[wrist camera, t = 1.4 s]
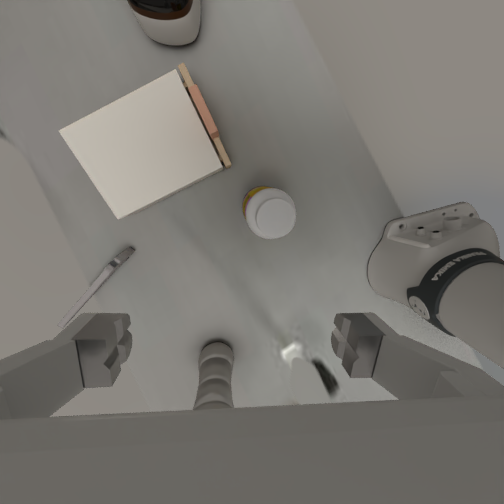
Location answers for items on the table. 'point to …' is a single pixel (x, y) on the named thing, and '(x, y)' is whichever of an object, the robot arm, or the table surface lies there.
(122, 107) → the sleeve
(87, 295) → the caliper
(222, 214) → the table surface
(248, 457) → the robot arm
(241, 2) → the table surface
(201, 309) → the table surface
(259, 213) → the supplement bottle
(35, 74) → the table surface
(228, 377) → the plastic bottle
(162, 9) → the spread jar
